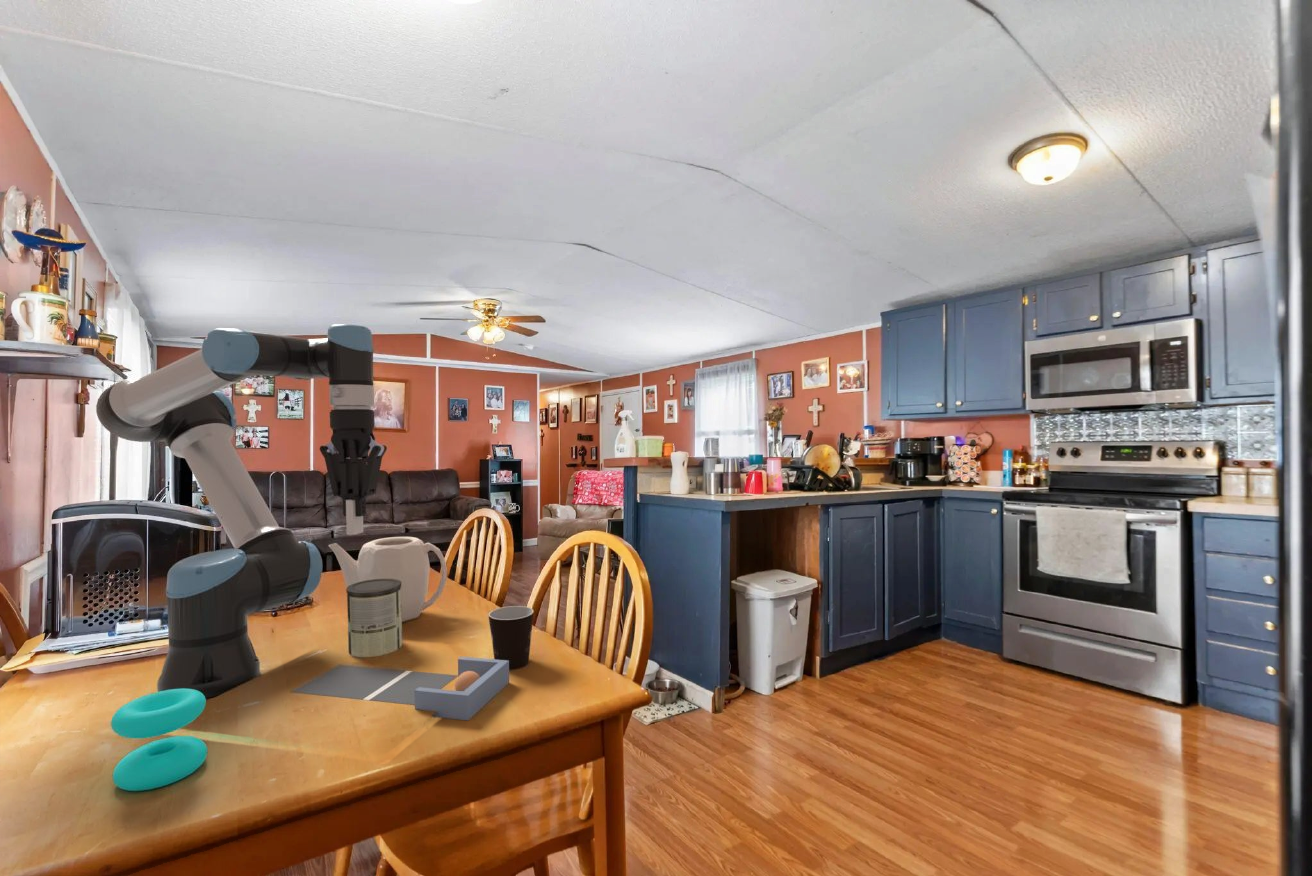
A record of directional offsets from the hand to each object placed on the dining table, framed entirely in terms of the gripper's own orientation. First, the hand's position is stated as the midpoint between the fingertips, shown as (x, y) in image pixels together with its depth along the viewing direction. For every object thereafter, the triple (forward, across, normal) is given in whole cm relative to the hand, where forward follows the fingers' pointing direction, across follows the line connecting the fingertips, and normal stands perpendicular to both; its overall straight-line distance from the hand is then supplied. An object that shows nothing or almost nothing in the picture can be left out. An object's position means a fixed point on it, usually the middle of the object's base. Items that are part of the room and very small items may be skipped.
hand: (355, 533), depth 116 cm
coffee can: (+27, -3, +9) cm, 28 cm away
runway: (+26, +8, -6) cm, 28 cm away
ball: (+23, +25, -6) cm, 34 cm away
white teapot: (+27, -14, +29) cm, 42 cm away
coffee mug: (+27, +27, +11) cm, 39 cm away
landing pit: (+26, +25, -6) cm, 37 cm away
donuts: (+27, -3, -35) cm, 44 cm away
